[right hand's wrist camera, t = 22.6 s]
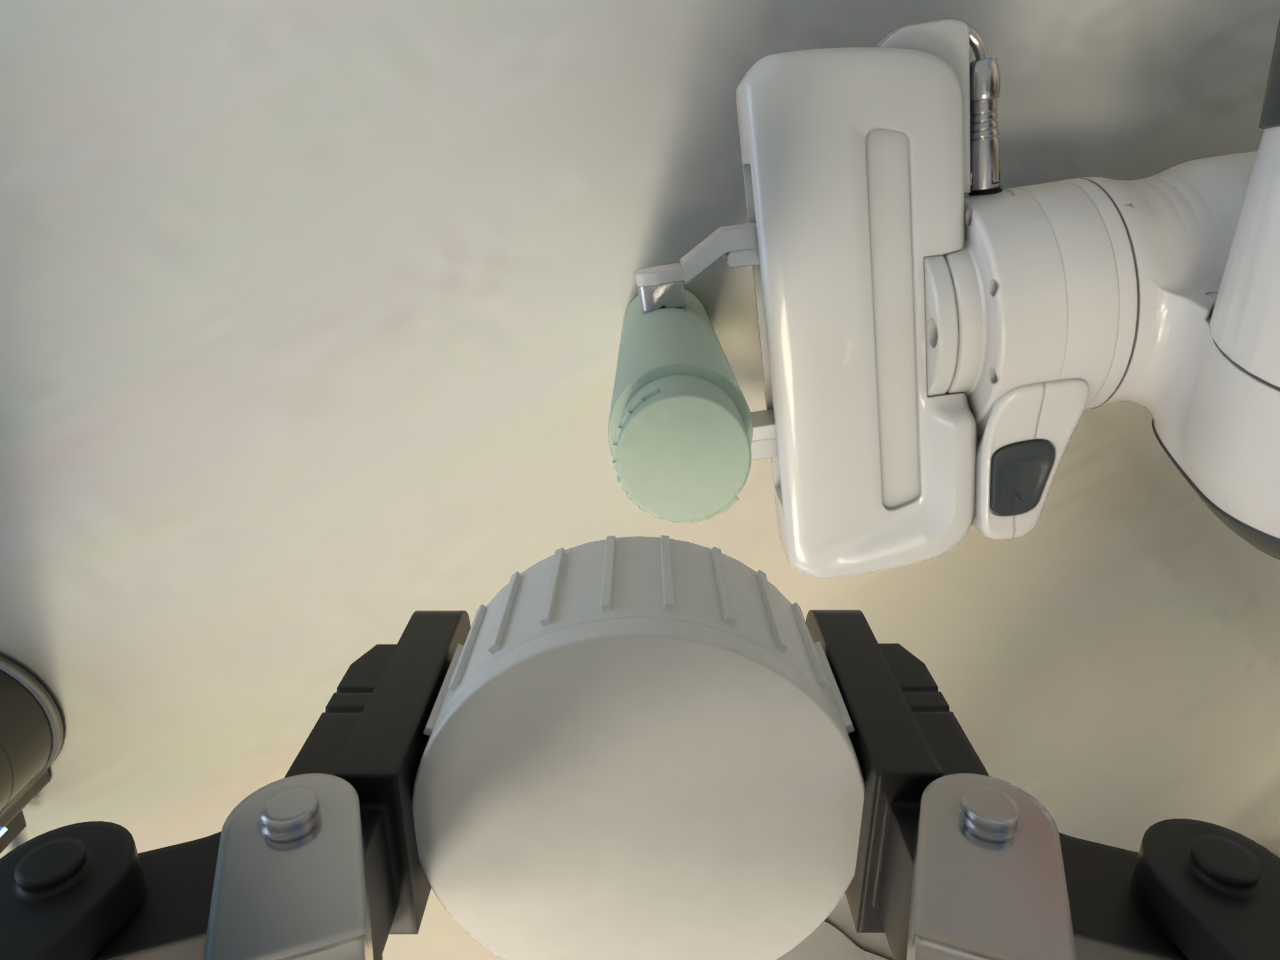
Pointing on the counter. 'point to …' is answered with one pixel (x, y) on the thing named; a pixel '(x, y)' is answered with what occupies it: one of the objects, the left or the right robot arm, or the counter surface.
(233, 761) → the counter surface
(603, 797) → the lid
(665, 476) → the pale green cylinder
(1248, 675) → the counter surface
